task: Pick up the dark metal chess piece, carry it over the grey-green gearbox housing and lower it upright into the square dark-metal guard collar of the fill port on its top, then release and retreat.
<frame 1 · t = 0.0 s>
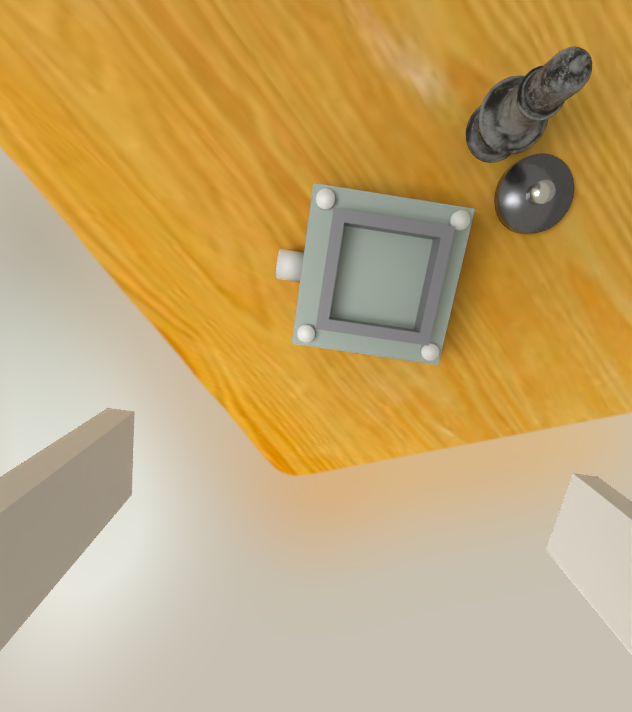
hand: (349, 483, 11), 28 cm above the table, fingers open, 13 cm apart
dark metal chess piece: (493, 132, 34), on the table
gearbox: (371, 278, 36), on the table
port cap: (530, 196, 35), on the table
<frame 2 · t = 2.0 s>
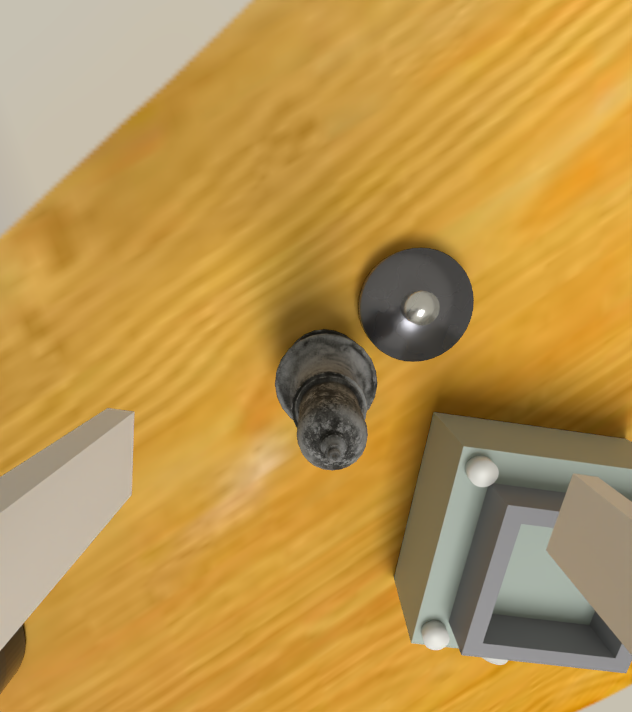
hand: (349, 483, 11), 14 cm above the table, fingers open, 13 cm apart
dark metal chess piece: (324, 367, 24), on the table
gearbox: (504, 511, 26), on the table
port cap: (412, 305, 23), on the table
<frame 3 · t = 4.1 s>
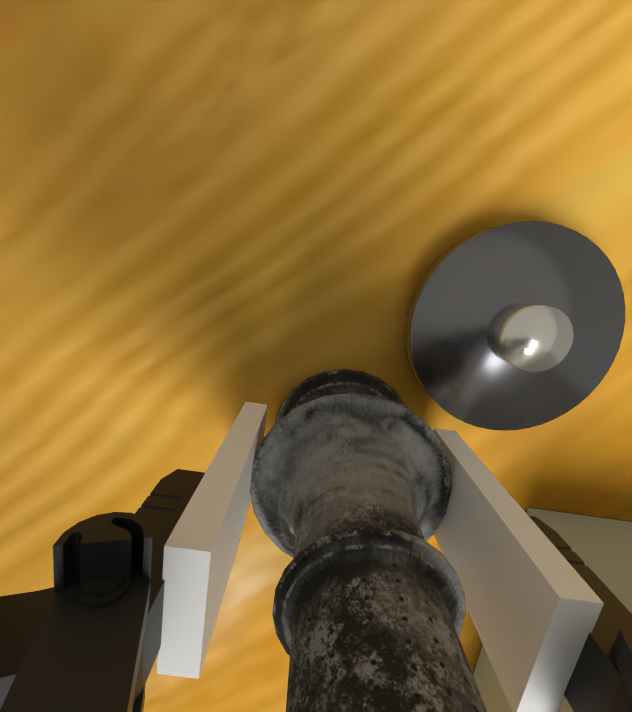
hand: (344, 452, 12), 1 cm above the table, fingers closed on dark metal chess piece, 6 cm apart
dark metal chess piece: (342, 432, 14), on the table, touching gripper
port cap: (502, 328, 13), on the table
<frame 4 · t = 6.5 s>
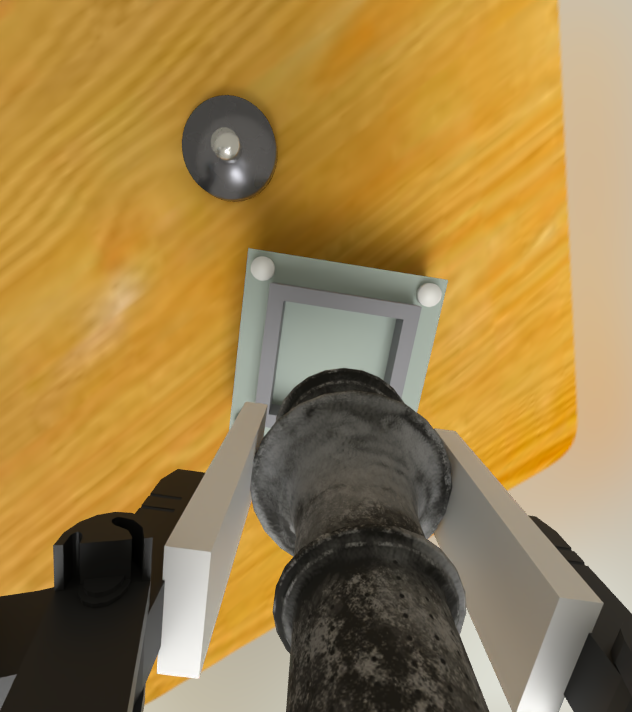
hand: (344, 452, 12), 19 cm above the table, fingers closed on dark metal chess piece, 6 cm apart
dark metal chess piece: (342, 431, 14), point 17 cm above the table, touching gripper
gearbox: (330, 347, 31), on the table
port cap: (232, 153, 27), on the table
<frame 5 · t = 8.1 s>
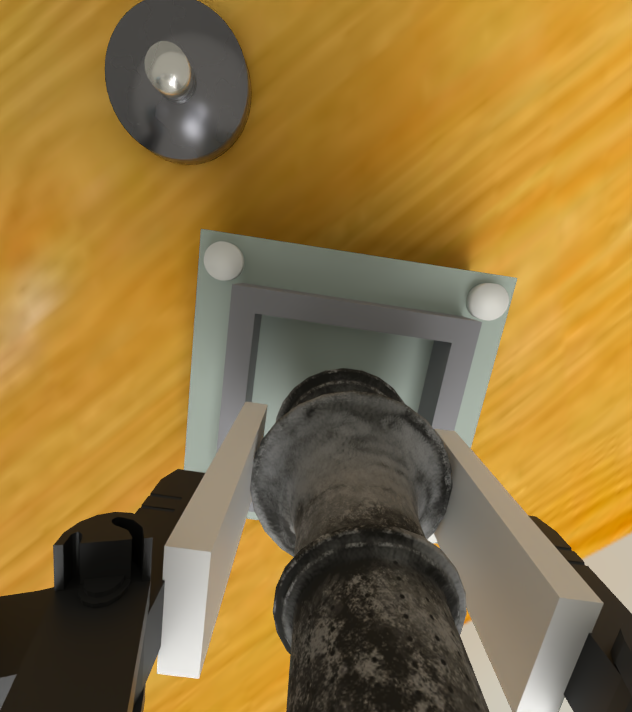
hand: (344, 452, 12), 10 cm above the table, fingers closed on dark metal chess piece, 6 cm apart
dark metal chess piece: (342, 431, 14), point 8 cm above the table, touching gripper
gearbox: (331, 374, 22), on the table
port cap: (183, 90, 18), on the table
when the fingers open (8 cm above the table, at t = 9.3 s): dark metal chess piece drops 1 cm, resting on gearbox.
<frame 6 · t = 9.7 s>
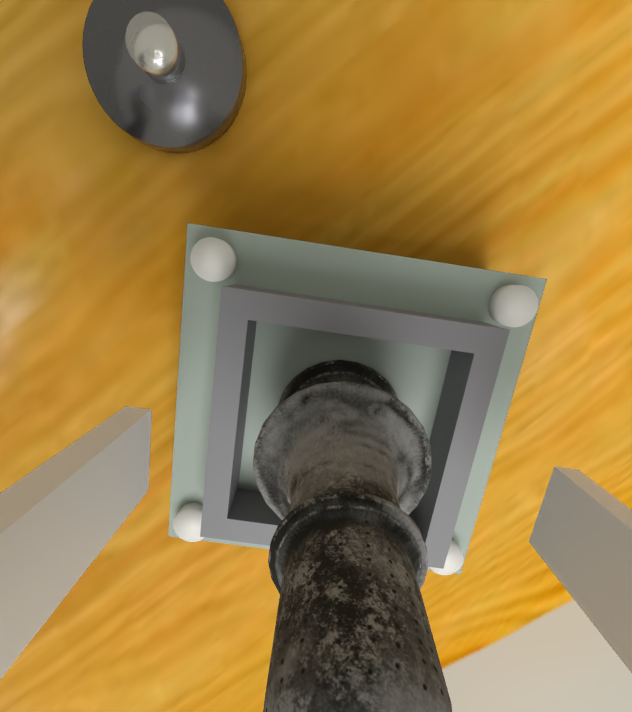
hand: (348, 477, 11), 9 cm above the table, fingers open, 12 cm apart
dark metal chess piece: (338, 417, 15), point 5 cm above the table, touching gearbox
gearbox: (334, 383, 20), on the table
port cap: (171, 71, 17), on the table
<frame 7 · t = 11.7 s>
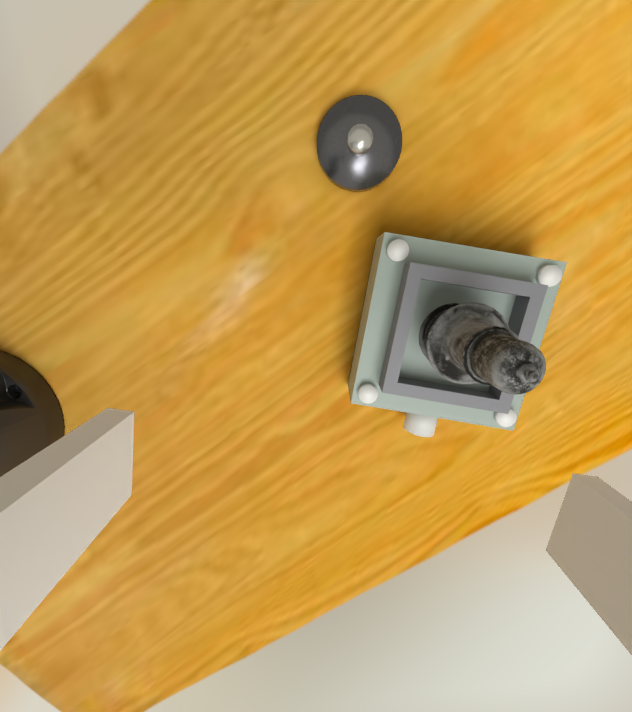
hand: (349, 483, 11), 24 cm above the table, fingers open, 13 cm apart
dark metal chess piece: (451, 335, 29), point 5 cm above the table, touching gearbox
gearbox: (434, 327, 33), on the table
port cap: (358, 147, 30), on the table
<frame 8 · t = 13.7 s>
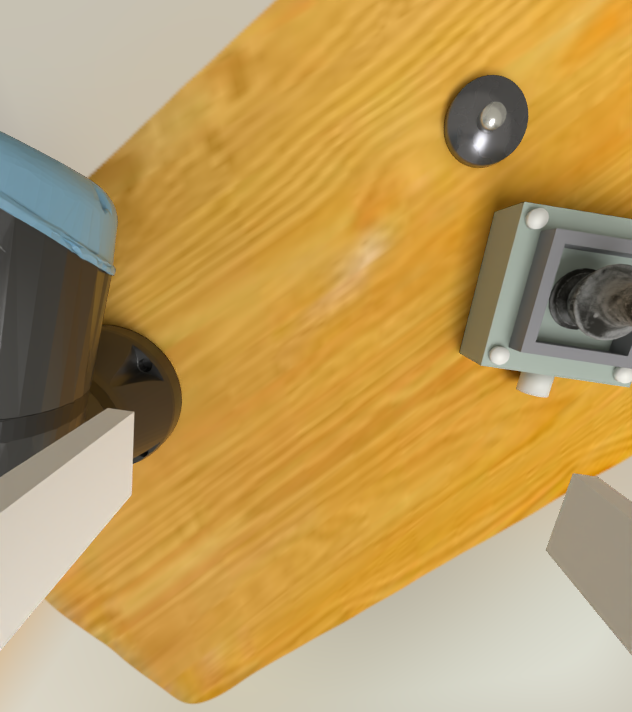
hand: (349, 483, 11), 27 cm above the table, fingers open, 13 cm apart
dark metal chess piece: (577, 299, 31), point 5 cm above the table, touching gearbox
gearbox: (544, 296, 36), on the table
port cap: (482, 125, 32), on the table
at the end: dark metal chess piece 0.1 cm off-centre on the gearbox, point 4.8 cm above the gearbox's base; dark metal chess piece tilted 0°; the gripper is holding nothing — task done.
